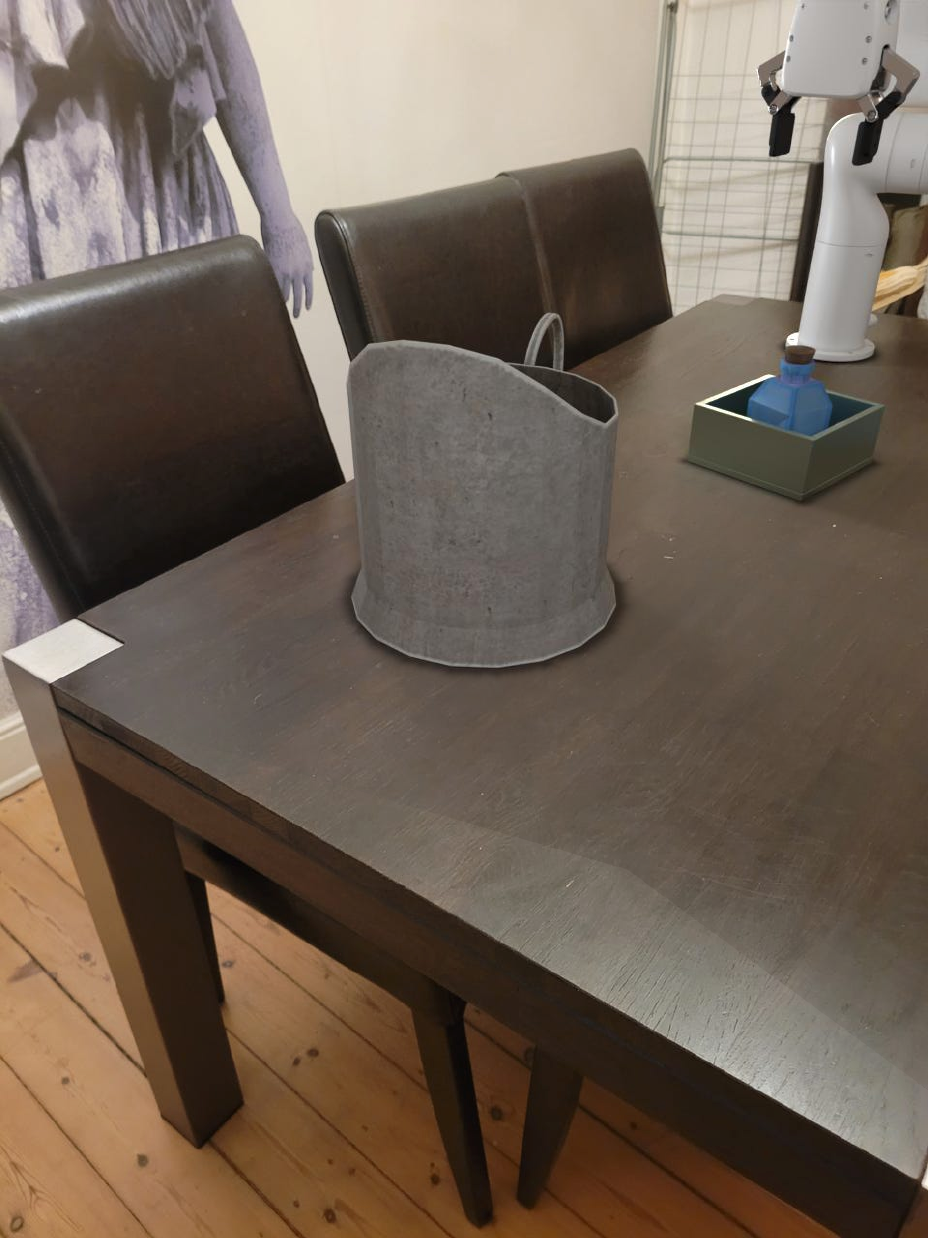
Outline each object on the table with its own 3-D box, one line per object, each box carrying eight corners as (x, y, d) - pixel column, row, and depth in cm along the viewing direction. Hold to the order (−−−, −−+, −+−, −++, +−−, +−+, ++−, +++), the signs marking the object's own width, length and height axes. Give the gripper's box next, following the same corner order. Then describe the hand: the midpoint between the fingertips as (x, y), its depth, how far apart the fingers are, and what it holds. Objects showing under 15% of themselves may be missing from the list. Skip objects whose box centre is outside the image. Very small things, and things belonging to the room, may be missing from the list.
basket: (759, 428, 114) (768, 373, 110) (871, 462, 105) (885, 405, 101) (687, 460, 106) (694, 403, 102) (801, 501, 97) (813, 440, 93)
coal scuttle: (303, 632, 77) (264, 330, 64) (452, 482, 102) (447, 241, 88) (570, 695, 70) (591, 367, 56) (661, 517, 94) (691, 259, 80)
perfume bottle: (781, 470, 101) (801, 361, 95) (740, 451, 106) (757, 346, 99) (821, 458, 104) (843, 352, 97) (780, 440, 108) (799, 337, 102)
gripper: (961, -42, 85) (914, 163, 95) (793, -35, 96) (767, 148, 106) (923, -41, 81) (878, 172, 91) (752, -34, 92) (729, 156, 102)
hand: (819, 159), depth 98 cm, fingers open, 9 cm apart
